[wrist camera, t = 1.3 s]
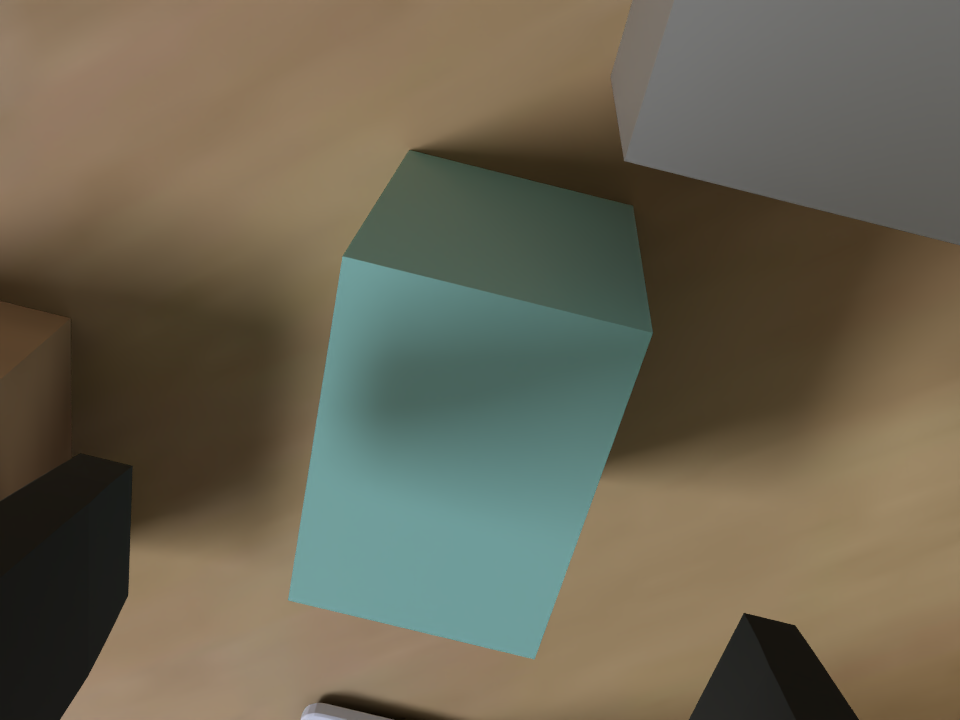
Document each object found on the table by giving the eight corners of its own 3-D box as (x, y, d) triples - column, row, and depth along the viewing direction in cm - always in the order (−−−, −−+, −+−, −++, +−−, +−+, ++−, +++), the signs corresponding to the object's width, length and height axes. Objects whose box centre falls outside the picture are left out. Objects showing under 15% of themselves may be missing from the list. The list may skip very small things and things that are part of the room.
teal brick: (545, 473, 18) (534, 659, 14) (358, 427, 18) (288, 600, 14) (632, 204, 16) (652, 332, 11) (409, 148, 15) (342, 256, 11)
